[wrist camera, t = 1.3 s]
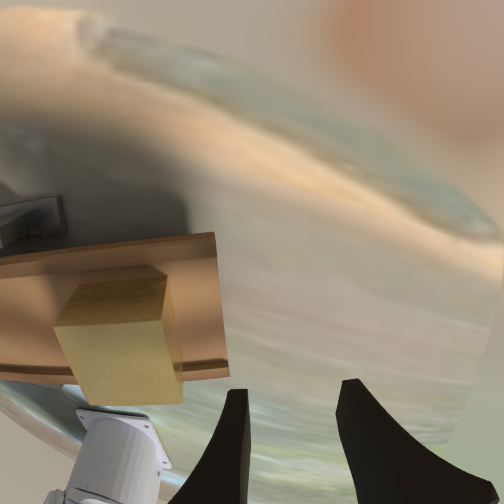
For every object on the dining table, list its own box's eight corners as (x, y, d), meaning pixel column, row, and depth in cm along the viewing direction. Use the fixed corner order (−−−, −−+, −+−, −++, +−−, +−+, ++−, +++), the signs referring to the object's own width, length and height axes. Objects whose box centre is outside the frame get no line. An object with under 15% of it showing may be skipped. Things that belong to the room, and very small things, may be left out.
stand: (107, 364, 22) (91, 400, 18) (34, 356, 22) (14, 384, 18) (60, 195, 17) (24, 213, 13) (-16, 209, 17) (-50, 227, 13)
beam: (222, 330, 22) (232, 393, 17) (-51, 338, 18) (-80, 376, 13) (211, 214, 19) (217, 252, 13) (-83, 258, 15) (-121, 288, 10)
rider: (183, 352, 17) (182, 403, 14) (103, 357, 17) (89, 405, 13) (168, 275, 16) (161, 320, 12) (78, 284, 15) (52, 326, 11)
